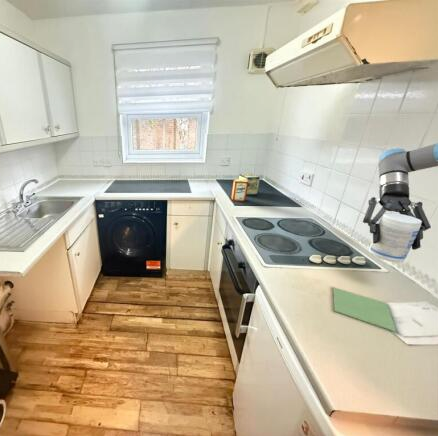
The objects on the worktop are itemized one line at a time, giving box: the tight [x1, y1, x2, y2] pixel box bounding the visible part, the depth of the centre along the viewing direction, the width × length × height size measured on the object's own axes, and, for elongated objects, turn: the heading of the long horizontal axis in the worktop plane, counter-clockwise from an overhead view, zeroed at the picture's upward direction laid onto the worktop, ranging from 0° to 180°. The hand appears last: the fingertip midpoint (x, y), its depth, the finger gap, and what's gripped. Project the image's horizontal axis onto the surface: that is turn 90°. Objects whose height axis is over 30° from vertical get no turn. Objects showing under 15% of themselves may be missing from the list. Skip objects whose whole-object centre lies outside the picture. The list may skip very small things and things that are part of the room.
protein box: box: [238, 173, 261, 197], centre depth 202 cm, size 10×16×16 cm
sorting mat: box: [333, 287, 397, 333], centre depth 81 cm, size 15×14×1 cm
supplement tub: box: [368, 212, 422, 263], centre depth 82 cm, size 10×10×15 cm
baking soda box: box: [230, 178, 248, 202], centre depth 185 cm, size 10×6×16 cm
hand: (395, 245), depth 80 cm, fingers closed on supplement tub, 9 cm apart
